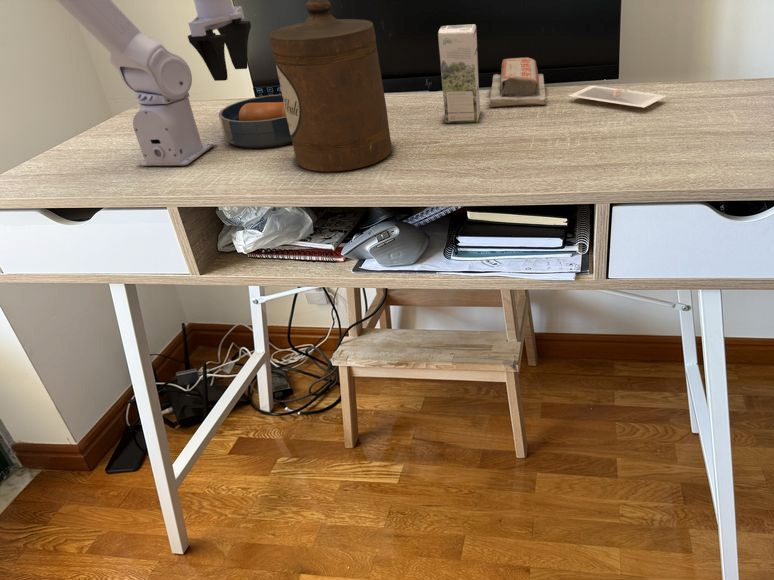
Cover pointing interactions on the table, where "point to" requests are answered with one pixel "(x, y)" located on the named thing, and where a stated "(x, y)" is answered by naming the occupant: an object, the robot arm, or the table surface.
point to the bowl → (254, 126)
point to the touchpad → (618, 96)
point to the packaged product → (518, 84)
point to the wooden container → (332, 91)
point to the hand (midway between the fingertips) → (231, 74)
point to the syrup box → (459, 73)
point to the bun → (262, 111)
